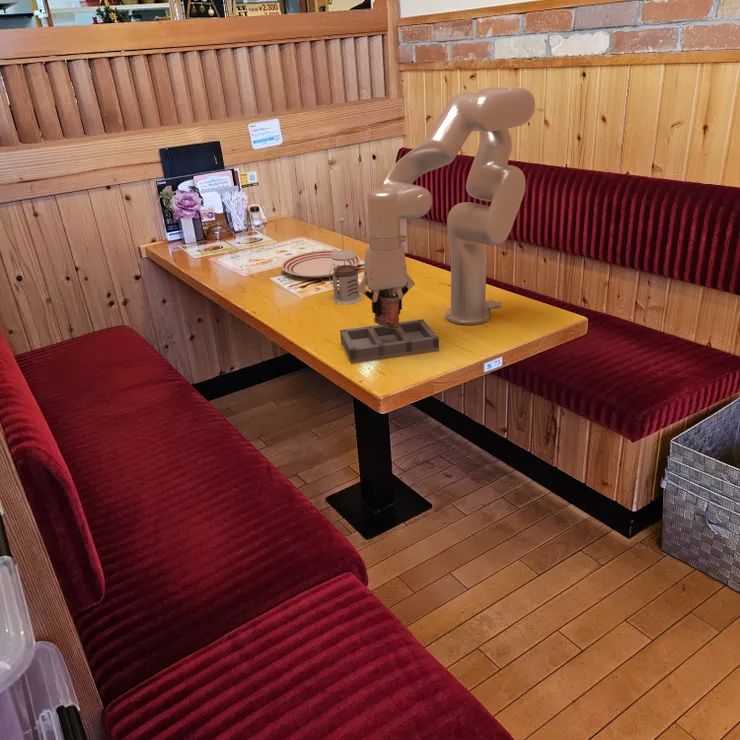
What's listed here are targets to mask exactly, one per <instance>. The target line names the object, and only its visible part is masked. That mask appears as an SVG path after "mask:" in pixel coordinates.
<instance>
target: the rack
mask: <svg viewBox="0 0 740 740" xmlns="http://www.w3.org/2000/svg"><path fill="white" fill-rule="evenodd" d="M399 323H400V327H399V328H396V329H392V328H388V327H384V326H381V325H379V324H377V325H376V324H375V325H368V326H362V327H356V328H355V327H353V328H346V329H340V330H339V331H340V332H339V334H340V342H341V343H340V344H341V345H342V348H343V349H344V351H345V354H346V356H347V358H348V359H349V362H350V363H351V364H357V363H365V362H372V361H379V360H384V359H385V360H386V359H393V358H399V357H406V356H407V357H408V356H413V355H422V354H427V353H434V352H435V353H437V352H439V351H440V338H439V336H437V334H436V333H435V332H434V331H433V330H432V328H431V327H430V326H429V325H428V323H427V322H426V321H425V319H423V318H422V319H415V320H414V319H413V320H408V321H399Z"/></svg>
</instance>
